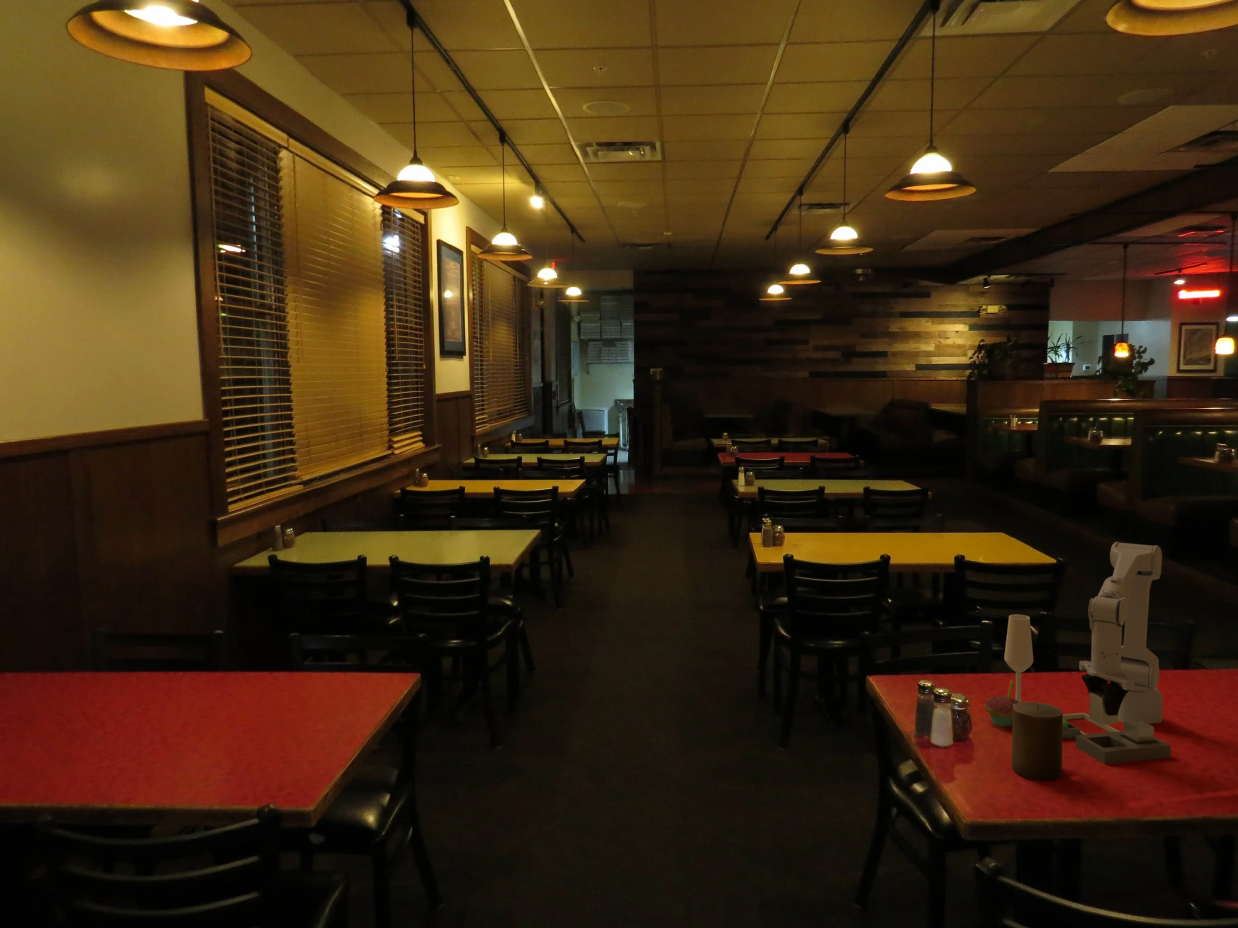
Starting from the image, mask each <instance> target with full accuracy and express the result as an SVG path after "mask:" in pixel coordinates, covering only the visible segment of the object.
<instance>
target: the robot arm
mask: <svg viewBox="0 0 1238 928" xmlns="http://www.w3.org/2000/svg"><path fill="white" fill-rule="evenodd" d="M1162 552H1163V551H1162V548H1161V547H1160V545H1157V544H1155V545H1149V544H1138V543H1129V542H1127V543H1125V542H1120V541H1115V542H1114V543H1113V544H1112V545H1111V548H1110V553H1109V560H1110V565H1111V566H1112V567H1113V569H1114V570H1113V574H1112V576H1109V577H1106V579H1105V580H1104V582H1103V584H1102V586H1101V588H1100V590H1099V592H1098V595H1096V596H1095V597H1094V598H1093V597H1092V598H1090V600H1089V604H1088V610H1087V611H1088V612H1087V613H1088V619H1089V620H1088V621H1089V629H1090V631H1091V652H1090V653H1091V655H1090V656H1091V657H1090V658H1091V659H1090V661H1088V660H1079V661H1078V662H1079V664H1078V667H1079V668H1078V669H1079V670H1080V671H1085V672H1086V674H1083V675H1081V679H1082V681H1083V682H1084V684H1085V687H1086V689H1087V691H1088V694H1089V696H1090V692H1095V691H1104V695H1105V700H1106V712H1107V715H1109V716H1113V715H1118V712H1119V718H1118V722H1120V723H1123V724H1124V722H1127V721H1137V720H1141V721H1143V722H1145V723H1147V724H1149V725H1151V724H1159V723H1162V722H1163V696H1162V693H1161V692H1160V690H1159V689H1158V688H1157V687H1158V684H1159V680H1160V668H1159V665H1160V664H1159V661H1160V660H1159V657H1158V656H1156V654H1154V653H1153V652H1152V651H1151V650H1150V649H1148V648H1147V634H1148V618H1149V605H1150V603H1149V602H1150V592H1151V591H1150V590H1151V585H1152V583H1153V582H1152V581H1155V580H1159V579H1160V577H1161V575H1162V566H1163V565H1162V563H1163V561H1162V560H1163V553H1162ZM1123 625H1124V637H1123V633H1122V632H1123ZM1122 638H1123V645H1122ZM1108 682H1109V683H1108Z"/></svg>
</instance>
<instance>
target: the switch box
mask: <svg viewBox="0 0 1238 928" xmlns="http://www.w3.org/2000/svg"><path fill="white" fill-rule="evenodd" d="M1068 722H1069V721H1068ZM1080 731H1081V728H1080V727H1079V726H1077V725H1074V724H1073V723H1071V722H1069V724H1068V728H1064V729H1062V740H1071V739H1072V740H1073V739H1076V735H1080Z"/></svg>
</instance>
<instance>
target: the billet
mask: <svg viewBox="0 0 1238 928" xmlns="http://www.w3.org/2000/svg"><path fill="white" fill-rule="evenodd" d="M1088 709H1089V714H1088V715H1089V718H1090V719H1092V720H1094V721H1096V722H1098V723H1100V724H1101V725H1105V724H1107V725H1114V724H1119V720H1118V718H1119V712H1118V715H1113V716H1109V715H1107V712H1106V700H1105V695H1104V691H1095V692H1090V695H1089V708H1088Z"/></svg>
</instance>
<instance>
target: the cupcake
mask: <svg viewBox="0 0 1238 928" xmlns="http://www.w3.org/2000/svg"><path fill="white" fill-rule="evenodd" d="M1013 687H1014V678H1012V679H1011V680H1010V683H1009V688H1008V693H1007V695H998V696H995V695H994V696H992V697H989V698H988V699H986V701H984V705H983V706H984V710H985V711H987V712H988V714H989V716H990V718H991V721H992V724H993V725H996V726H998V727H1002V728H1006V727H1013V704H1017V703H1019V702H1018V701H1017V700H1016V698H1014V697H1013V698H1012V697H1011V696H1012V693H1013V692H1012V691H1013Z"/></svg>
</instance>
